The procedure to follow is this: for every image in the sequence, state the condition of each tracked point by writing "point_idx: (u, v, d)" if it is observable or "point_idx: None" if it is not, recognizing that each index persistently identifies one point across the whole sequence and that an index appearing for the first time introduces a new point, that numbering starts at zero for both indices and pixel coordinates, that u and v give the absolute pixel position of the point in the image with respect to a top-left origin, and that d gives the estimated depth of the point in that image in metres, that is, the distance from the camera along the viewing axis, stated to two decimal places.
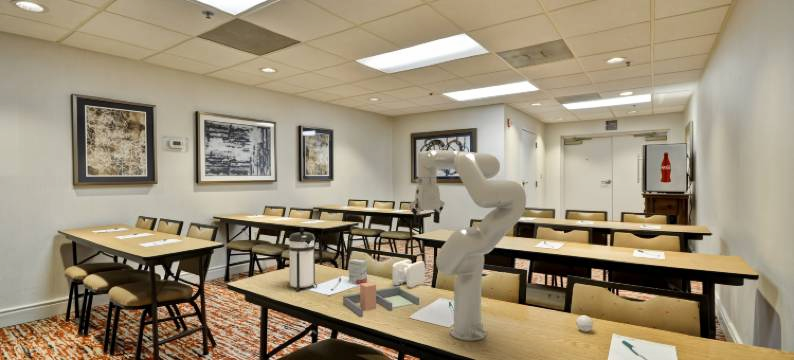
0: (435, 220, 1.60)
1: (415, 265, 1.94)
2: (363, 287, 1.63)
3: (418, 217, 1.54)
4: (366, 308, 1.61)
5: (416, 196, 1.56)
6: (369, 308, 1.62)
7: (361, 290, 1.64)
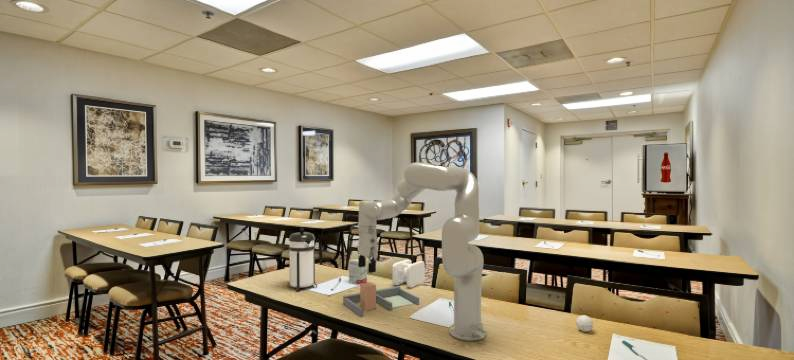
0: (362, 264, 1.68)
1: (415, 265, 1.94)
2: (363, 287, 1.63)
3: (375, 264, 1.61)
4: (366, 308, 1.61)
5: (371, 245, 1.60)
6: (369, 308, 1.62)
7: (361, 290, 1.64)
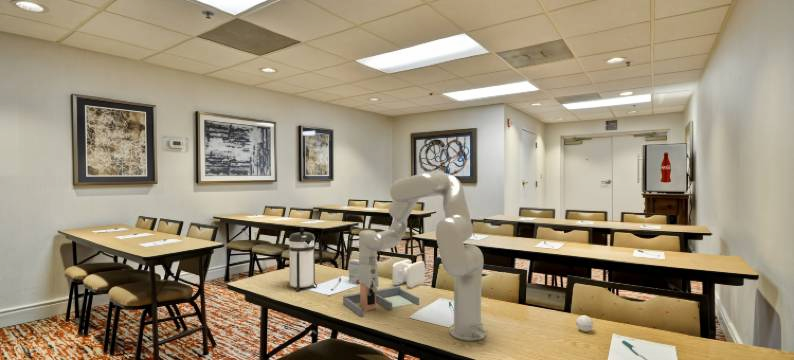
0: None
1: (415, 265, 1.94)
2: (363, 287, 1.63)
3: (373, 296, 1.63)
4: (366, 308, 1.62)
5: (372, 276, 1.60)
6: (369, 308, 1.62)
7: (361, 290, 1.64)
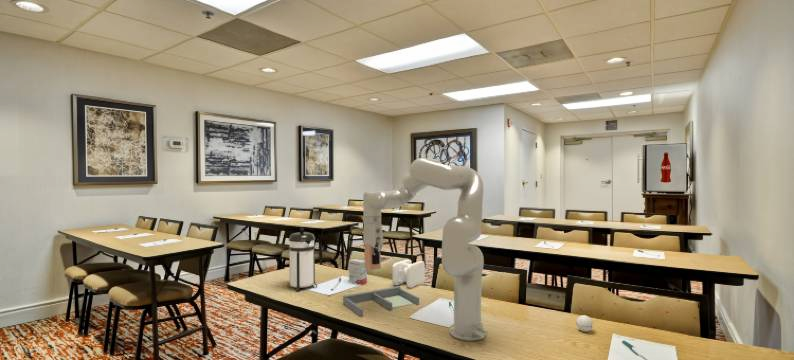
0: None
1: (415, 265, 1.94)
2: (368, 247, 1.63)
3: (378, 256, 1.63)
4: (371, 267, 1.62)
5: (376, 235, 1.61)
6: (374, 268, 1.63)
7: (365, 250, 1.65)
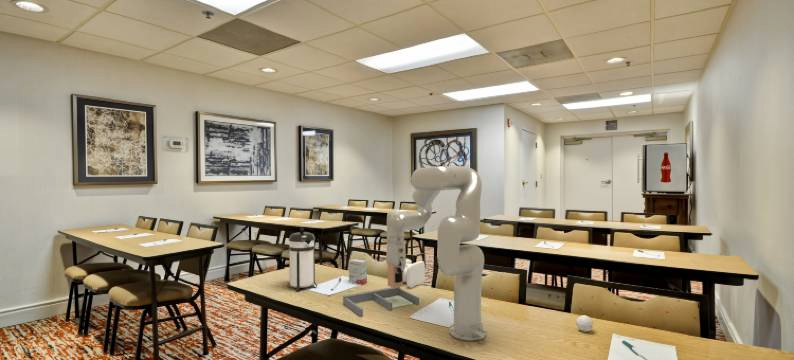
0: None
1: (415, 265, 1.94)
2: (391, 266, 1.69)
3: (401, 275, 1.69)
4: (394, 286, 1.68)
5: (400, 255, 1.67)
6: (397, 286, 1.69)
7: (389, 269, 1.71)
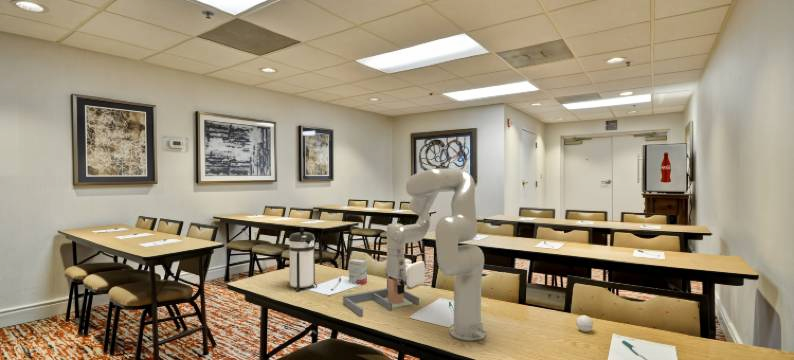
0: None
1: (415, 265, 1.94)
2: (391, 281, 1.69)
3: (403, 286, 1.68)
4: (394, 302, 1.68)
5: (400, 267, 1.67)
6: (397, 302, 1.69)
7: (389, 284, 1.71)
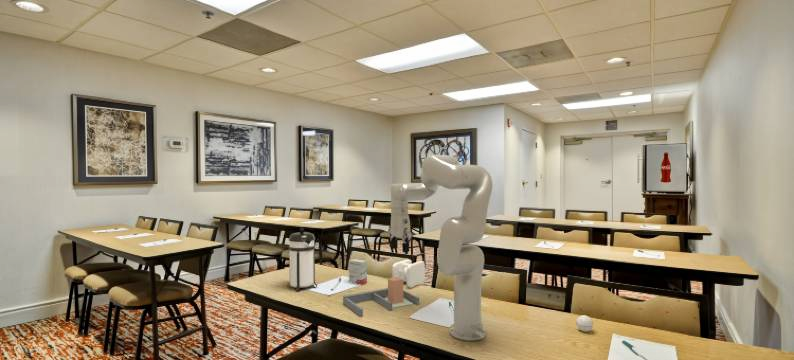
0: (394, 246, 1.75)
1: (415, 265, 1.94)
2: (391, 281, 1.69)
3: (408, 244, 1.68)
4: (394, 302, 1.68)
5: (404, 226, 1.67)
6: (397, 302, 1.69)
7: (389, 284, 1.71)
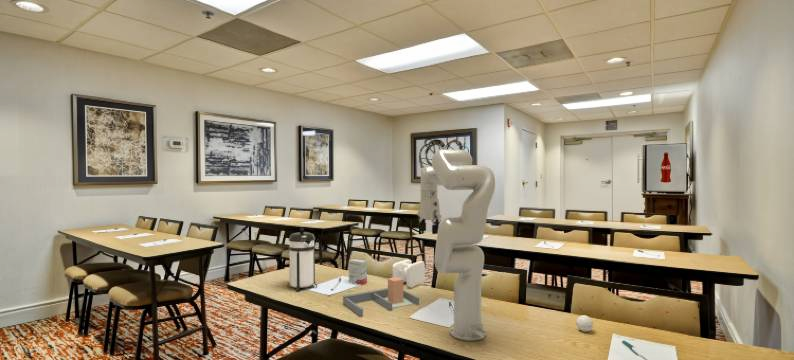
0: (423, 229, 1.79)
1: (415, 265, 1.94)
2: (391, 281, 1.69)
3: (437, 226, 1.71)
4: (394, 302, 1.68)
5: (434, 208, 1.70)
6: (397, 302, 1.69)
7: (389, 284, 1.71)
